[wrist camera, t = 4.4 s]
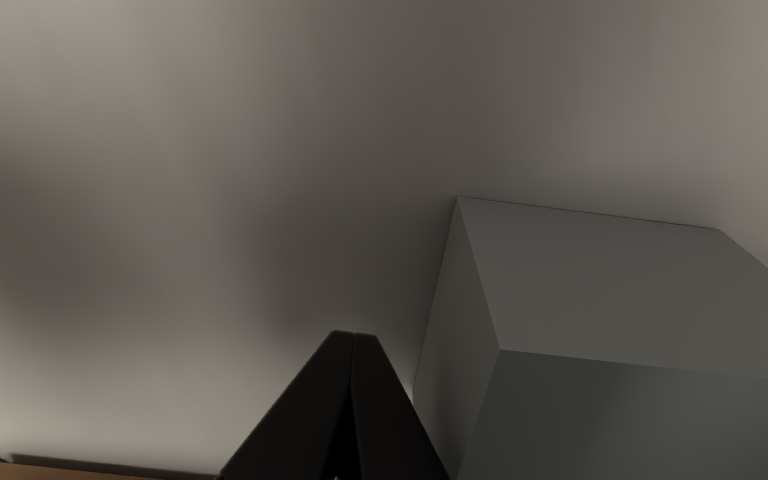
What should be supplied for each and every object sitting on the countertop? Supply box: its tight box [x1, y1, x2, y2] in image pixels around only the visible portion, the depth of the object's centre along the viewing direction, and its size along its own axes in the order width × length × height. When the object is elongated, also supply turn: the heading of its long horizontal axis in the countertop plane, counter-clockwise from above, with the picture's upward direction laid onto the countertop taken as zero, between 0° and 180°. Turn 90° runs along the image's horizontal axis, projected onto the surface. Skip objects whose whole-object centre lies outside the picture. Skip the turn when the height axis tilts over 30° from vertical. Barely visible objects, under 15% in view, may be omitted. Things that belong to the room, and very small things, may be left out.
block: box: [412, 196, 768, 480], centre depth 8 cm, size 5×5×4 cm
